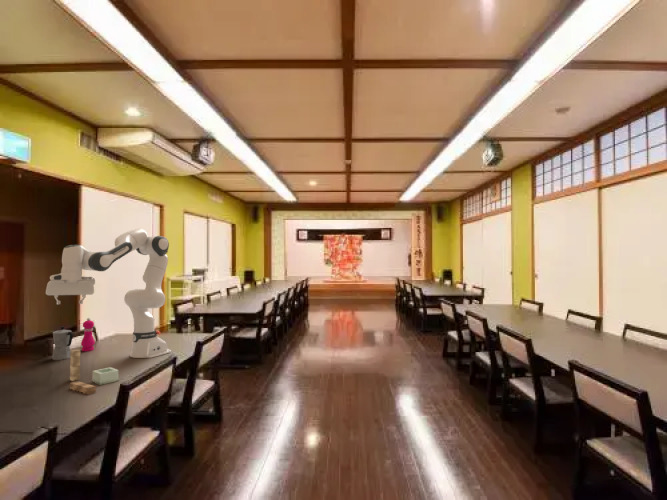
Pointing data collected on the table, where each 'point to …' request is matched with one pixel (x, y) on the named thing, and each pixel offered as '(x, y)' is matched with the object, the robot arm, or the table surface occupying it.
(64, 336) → the coffeepot
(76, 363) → the tan wooden block
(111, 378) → the pale green hollow block
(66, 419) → the table surface
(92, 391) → the tan wooden bar
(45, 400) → the table surface
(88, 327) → the pepper mill
